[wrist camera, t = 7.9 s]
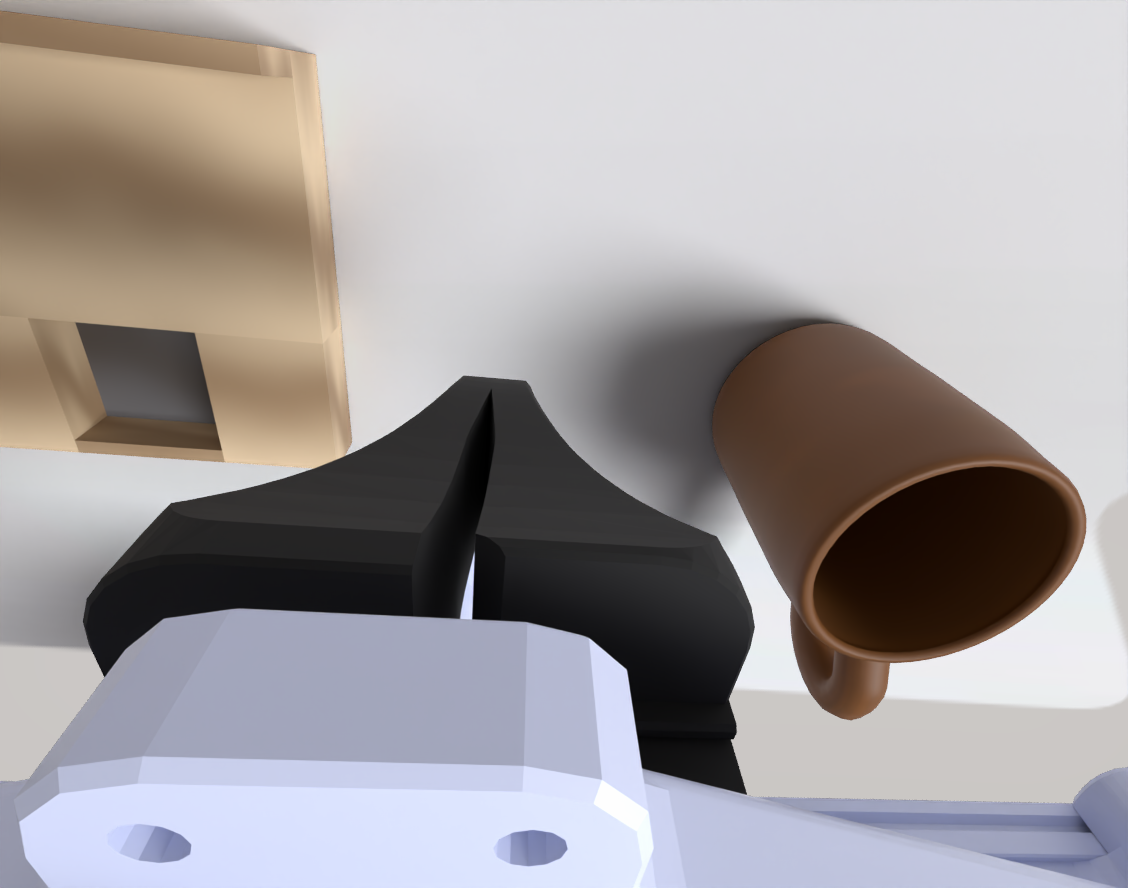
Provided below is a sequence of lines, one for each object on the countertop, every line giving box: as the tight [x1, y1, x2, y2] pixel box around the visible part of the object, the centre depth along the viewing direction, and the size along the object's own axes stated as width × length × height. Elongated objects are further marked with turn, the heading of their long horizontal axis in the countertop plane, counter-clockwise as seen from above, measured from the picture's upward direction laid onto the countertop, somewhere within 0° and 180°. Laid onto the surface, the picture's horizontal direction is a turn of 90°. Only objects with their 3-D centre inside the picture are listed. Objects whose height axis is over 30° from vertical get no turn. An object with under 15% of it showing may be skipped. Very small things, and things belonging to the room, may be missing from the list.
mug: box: [712, 323, 1086, 720], centre depth 20 cm, size 12×8×9 cm, turn 179°
